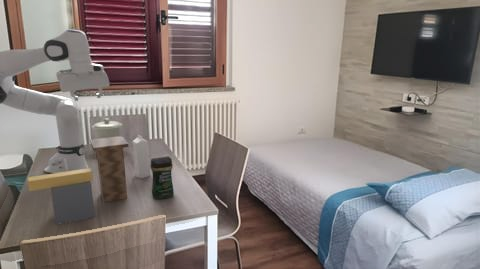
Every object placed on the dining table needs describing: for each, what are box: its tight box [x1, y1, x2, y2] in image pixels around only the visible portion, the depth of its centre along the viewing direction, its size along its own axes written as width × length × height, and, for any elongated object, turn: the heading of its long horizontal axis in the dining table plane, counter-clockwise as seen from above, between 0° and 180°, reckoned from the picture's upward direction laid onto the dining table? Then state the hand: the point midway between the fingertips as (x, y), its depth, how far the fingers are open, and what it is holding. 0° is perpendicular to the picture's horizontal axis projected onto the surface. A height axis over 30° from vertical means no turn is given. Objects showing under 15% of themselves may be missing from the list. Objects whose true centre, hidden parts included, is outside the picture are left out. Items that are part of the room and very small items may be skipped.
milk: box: [132, 134, 151, 179], centre depth 181 cm, size 6×6×22 cm
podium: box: [50, 181, 96, 225], centre depth 139 cm, size 14×10×14 cm
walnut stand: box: [89, 135, 130, 203], centre depth 156 cm, size 14×14×26 cm
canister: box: [91, 117, 123, 139], centre depth 224 cm, size 18×18×21 cm
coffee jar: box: [150, 155, 175, 200], centre depth 157 cm, size 10×8×19 cm
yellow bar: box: [27, 167, 94, 192], centre depth 136 cm, size 22×4×4 cm, turn 118°
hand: (88, 99), depth 156 cm, fingers open, 8 cm apart
